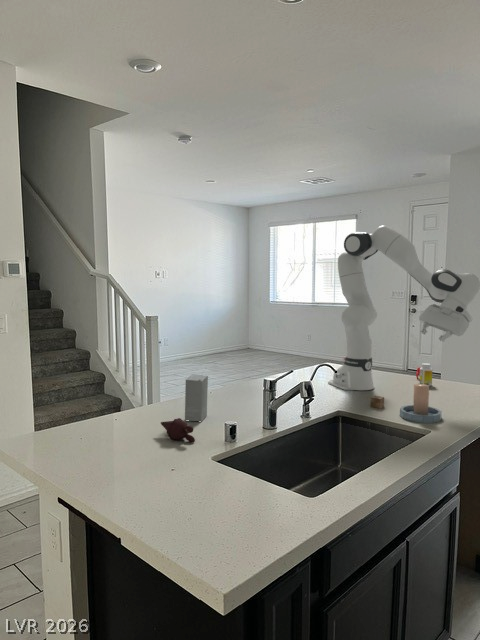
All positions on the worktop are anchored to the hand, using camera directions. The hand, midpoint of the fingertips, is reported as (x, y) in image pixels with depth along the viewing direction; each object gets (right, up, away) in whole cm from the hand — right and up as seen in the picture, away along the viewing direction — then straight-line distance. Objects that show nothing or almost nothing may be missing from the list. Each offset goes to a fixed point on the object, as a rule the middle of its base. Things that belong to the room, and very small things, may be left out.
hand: (431, 336), depth 188 cm
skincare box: (-93, -30, -16) cm, 98 cm away
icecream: (-97, -32, -37) cm, 108 cm away
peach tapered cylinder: (-10, -28, -15) cm, 33 cm away
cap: (+16, -23, +49) cm, 56 cm away
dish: (-10, -29, -15) cm, 34 cm away
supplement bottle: (+12, -24, +36) cm, 45 cm away
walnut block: (-22, -28, -1) cm, 36 cm away
